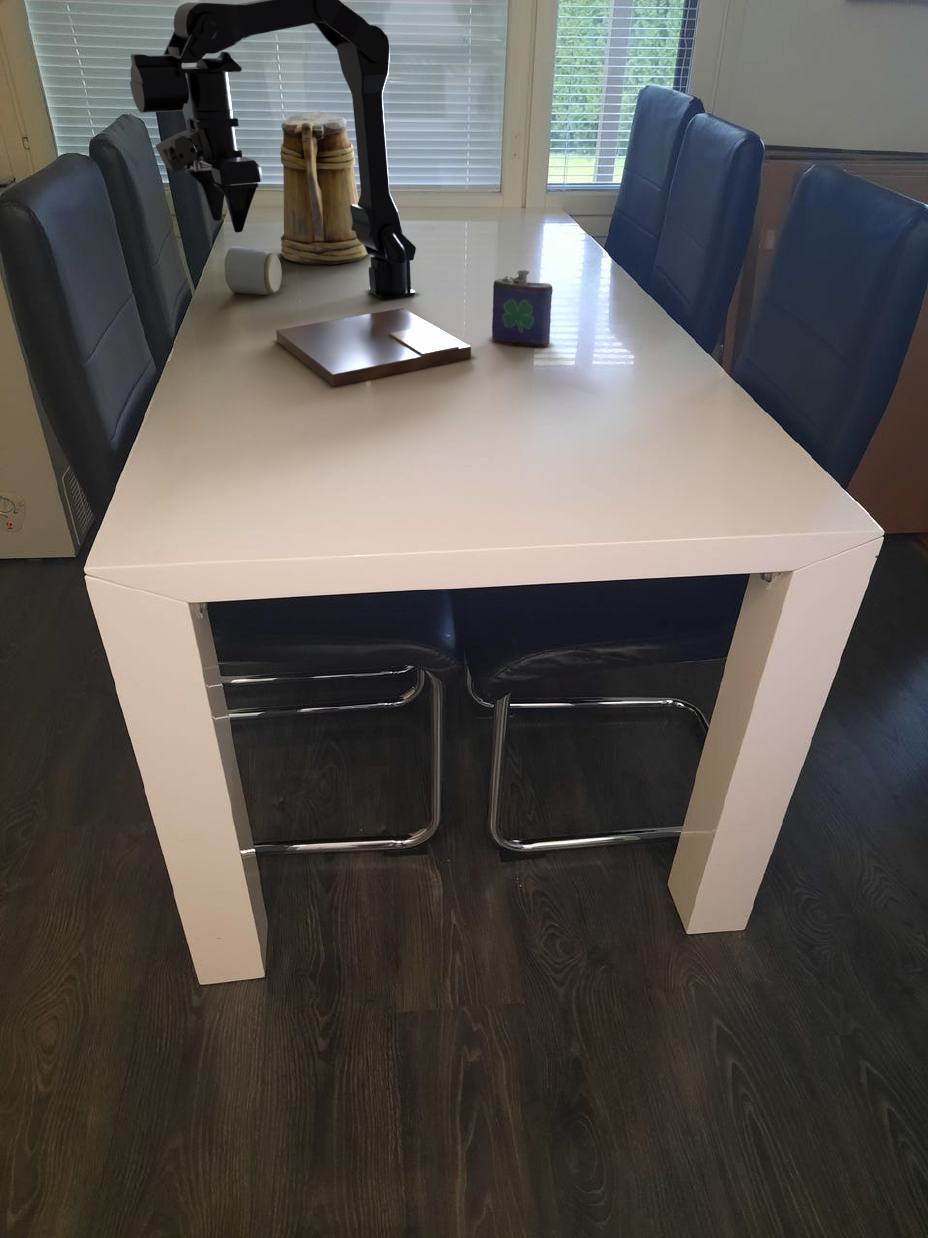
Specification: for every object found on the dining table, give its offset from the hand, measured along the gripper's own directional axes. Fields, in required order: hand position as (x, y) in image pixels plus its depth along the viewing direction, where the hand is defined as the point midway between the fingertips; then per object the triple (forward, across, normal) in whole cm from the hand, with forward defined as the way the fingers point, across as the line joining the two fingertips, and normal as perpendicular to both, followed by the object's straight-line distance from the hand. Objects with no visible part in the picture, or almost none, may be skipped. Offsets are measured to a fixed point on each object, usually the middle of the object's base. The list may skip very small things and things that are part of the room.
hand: (227, 225), depth 132 cm
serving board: (+14, +24, +12) cm, 30 cm away
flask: (+14, +34, +32) cm, 49 cm away
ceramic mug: (+15, -15, +9) cm, 23 cm away
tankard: (+14, -30, +30) cm, 45 cm away
